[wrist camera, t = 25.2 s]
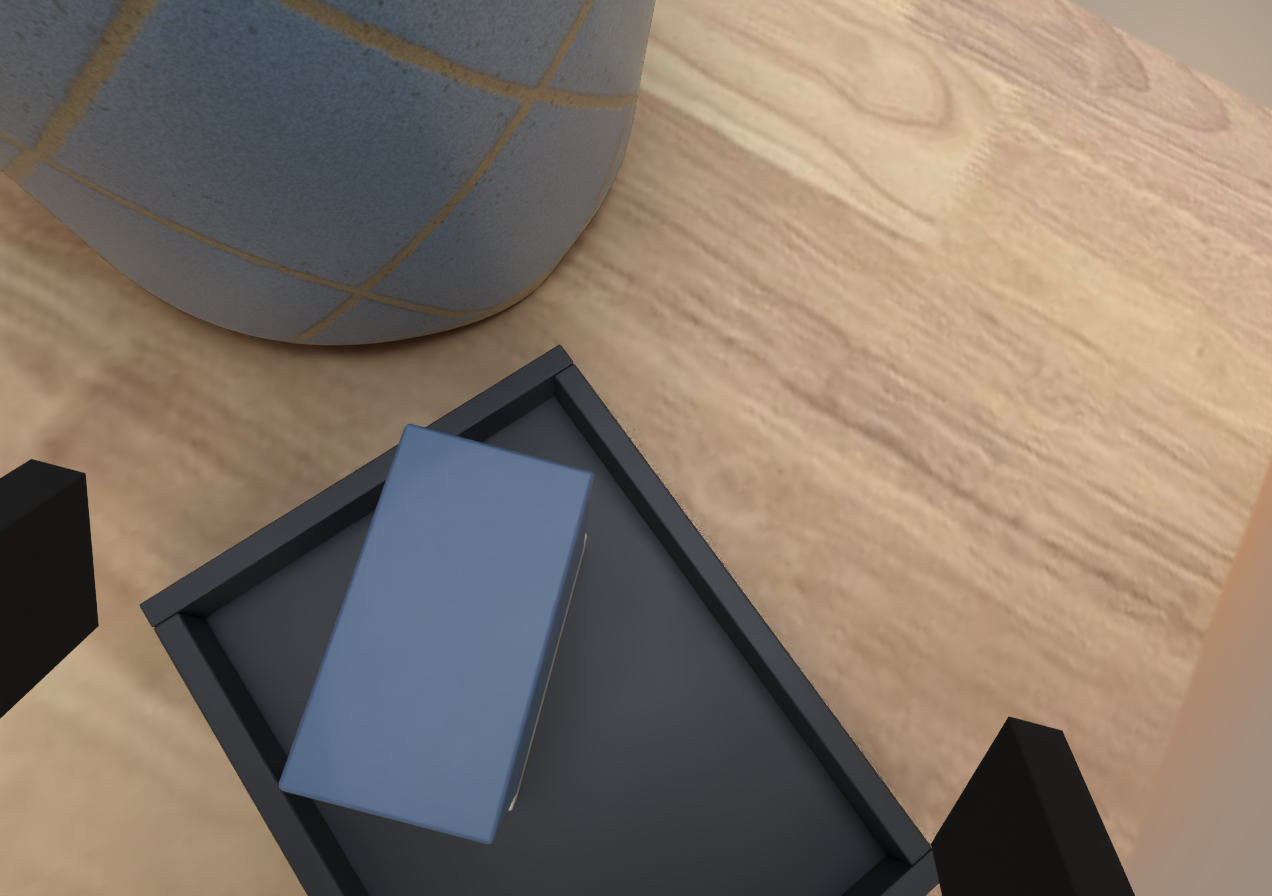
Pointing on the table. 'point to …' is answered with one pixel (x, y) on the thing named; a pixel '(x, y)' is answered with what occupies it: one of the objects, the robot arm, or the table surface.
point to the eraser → (445, 637)
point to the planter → (323, 149)
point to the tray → (560, 700)
